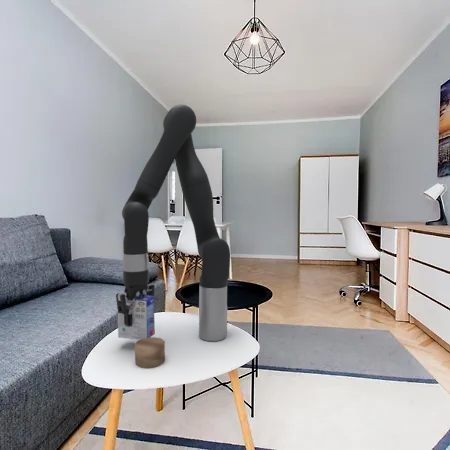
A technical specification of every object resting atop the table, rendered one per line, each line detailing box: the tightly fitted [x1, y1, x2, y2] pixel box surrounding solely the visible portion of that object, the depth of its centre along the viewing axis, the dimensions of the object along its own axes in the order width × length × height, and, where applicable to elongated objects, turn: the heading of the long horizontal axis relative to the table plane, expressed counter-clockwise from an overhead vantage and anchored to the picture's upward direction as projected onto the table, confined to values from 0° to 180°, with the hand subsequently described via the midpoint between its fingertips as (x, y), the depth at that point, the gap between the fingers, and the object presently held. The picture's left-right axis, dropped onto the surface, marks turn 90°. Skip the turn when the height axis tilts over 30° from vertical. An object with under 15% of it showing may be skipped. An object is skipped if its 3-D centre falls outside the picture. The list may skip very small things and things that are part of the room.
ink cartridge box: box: [117, 293, 156, 341], centre depth 96 cm, size 10×6×14 cm, turn 77°
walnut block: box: [134, 336, 166, 369], centre depth 87 cm, size 8×8×5 cm
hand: (136, 322), depth 96 cm, fingers closed on ink cartridge box, 6 cm apart
